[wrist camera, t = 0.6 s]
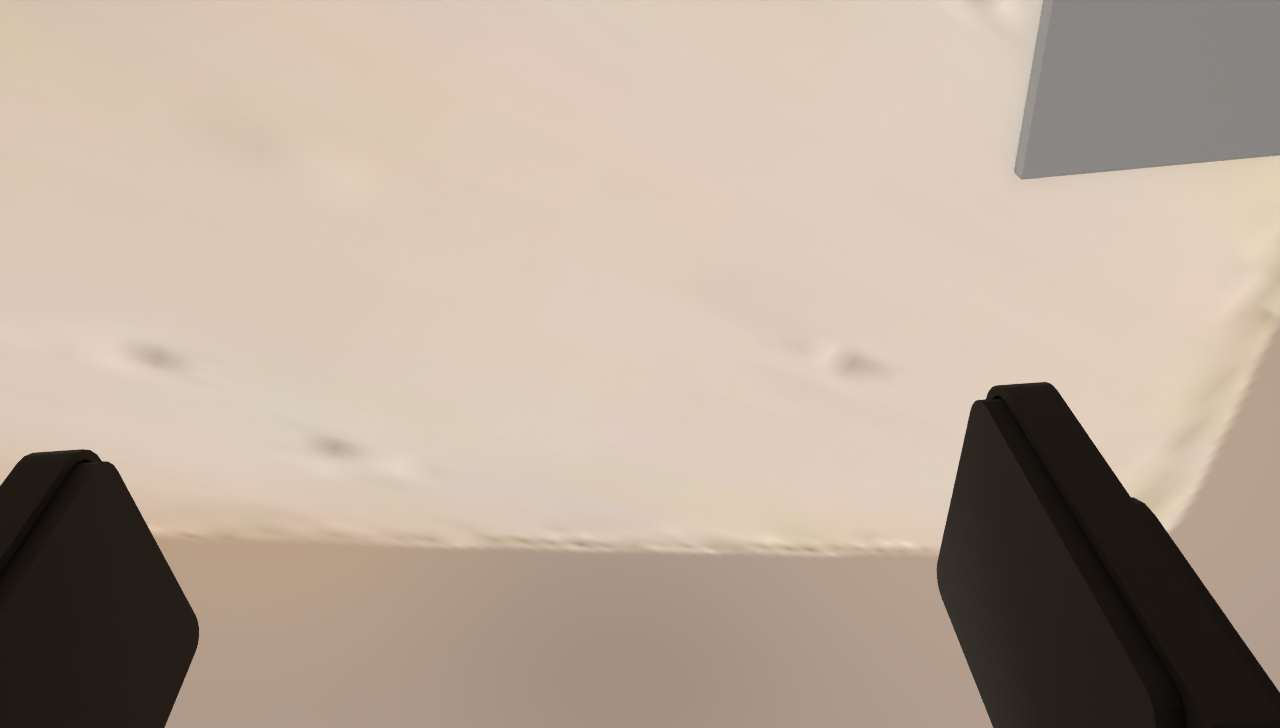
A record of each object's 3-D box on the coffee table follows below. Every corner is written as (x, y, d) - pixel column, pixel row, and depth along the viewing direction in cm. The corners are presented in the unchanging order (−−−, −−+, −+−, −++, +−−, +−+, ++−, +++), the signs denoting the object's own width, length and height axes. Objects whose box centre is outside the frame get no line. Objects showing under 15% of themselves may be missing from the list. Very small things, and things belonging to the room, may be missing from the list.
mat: (1066, -133, 33) (1076, -130, 32) (1394, -165, 33) (1410, -163, 32) (1014, 172, 40) (1021, 179, 39) (1284, 146, 40) (1295, 153, 39)
